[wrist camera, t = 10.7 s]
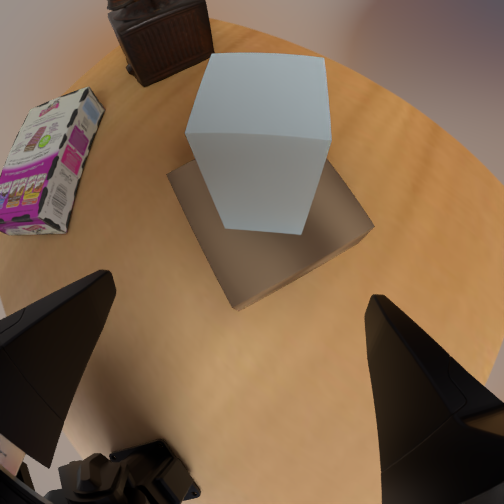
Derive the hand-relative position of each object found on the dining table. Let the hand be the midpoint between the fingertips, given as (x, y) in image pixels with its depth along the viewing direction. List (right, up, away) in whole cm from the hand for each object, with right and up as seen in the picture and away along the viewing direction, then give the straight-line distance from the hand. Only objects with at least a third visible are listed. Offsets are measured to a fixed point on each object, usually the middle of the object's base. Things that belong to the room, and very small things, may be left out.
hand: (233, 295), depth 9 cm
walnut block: (+2, +4, +14) cm, 15 cm away
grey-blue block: (+2, +5, +10) cm, 11 cm away
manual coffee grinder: (-10, +26, +21) cm, 35 cm away
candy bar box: (-23, +4, +13) cm, 27 cm away
